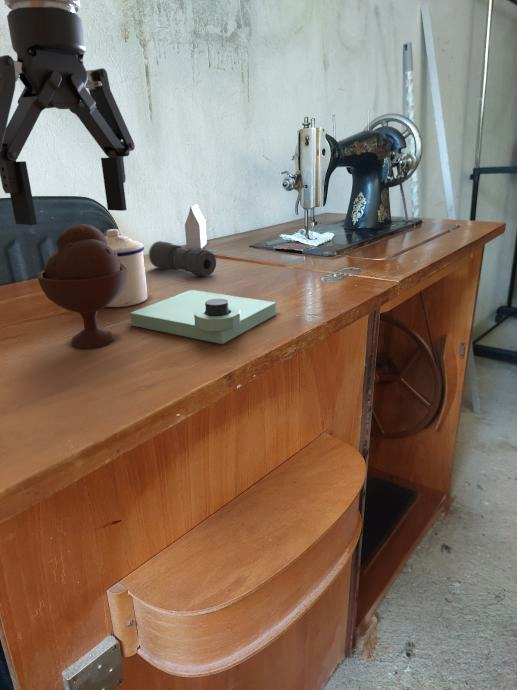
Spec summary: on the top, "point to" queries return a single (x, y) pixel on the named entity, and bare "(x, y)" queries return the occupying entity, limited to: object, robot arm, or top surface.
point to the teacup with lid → (129, 268)
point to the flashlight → (182, 258)
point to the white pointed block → (195, 229)
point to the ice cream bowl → (84, 279)
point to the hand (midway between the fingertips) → (75, 216)
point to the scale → (203, 316)
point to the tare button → (217, 307)
